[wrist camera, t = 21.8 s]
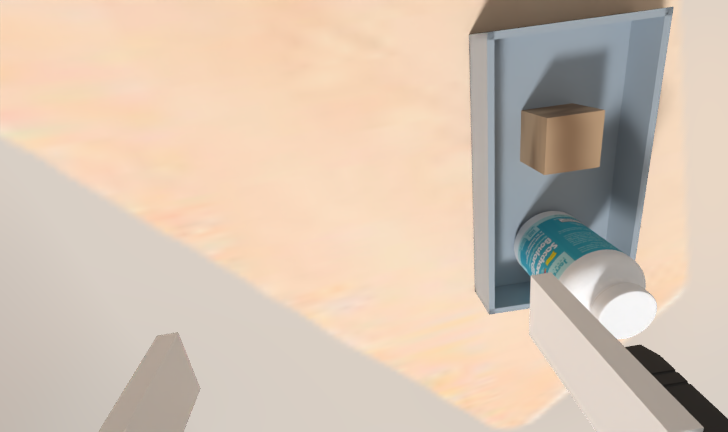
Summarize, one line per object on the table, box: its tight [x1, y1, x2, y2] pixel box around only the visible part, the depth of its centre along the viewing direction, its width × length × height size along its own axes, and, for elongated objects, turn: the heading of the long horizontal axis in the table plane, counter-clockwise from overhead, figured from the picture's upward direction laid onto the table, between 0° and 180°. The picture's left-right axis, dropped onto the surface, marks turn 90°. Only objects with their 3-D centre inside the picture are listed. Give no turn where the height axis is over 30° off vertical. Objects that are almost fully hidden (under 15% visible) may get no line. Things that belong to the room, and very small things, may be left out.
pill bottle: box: [514, 211, 657, 339], centre depth 38 cm, size 8×7×14 cm
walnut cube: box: [520, 103, 605, 175], centre depth 37 cm, size 5×5×5 cm
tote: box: [469, 7, 673, 314], centre depth 39 cm, size 27×15×4 cm, turn 7°
